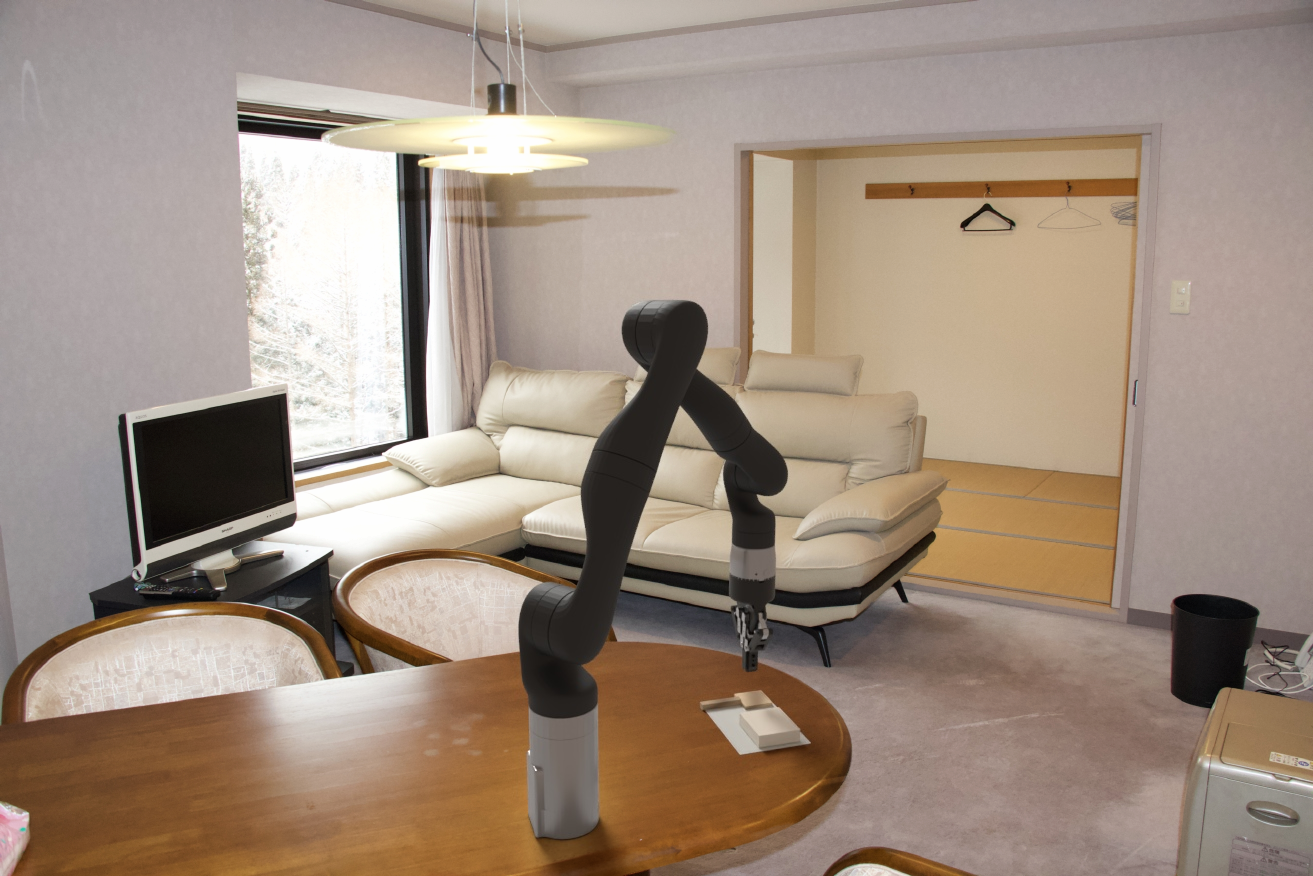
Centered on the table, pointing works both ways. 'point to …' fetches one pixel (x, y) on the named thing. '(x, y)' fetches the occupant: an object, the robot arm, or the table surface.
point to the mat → (737, 736)
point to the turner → (739, 701)
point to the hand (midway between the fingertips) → (749, 670)
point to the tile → (769, 727)
